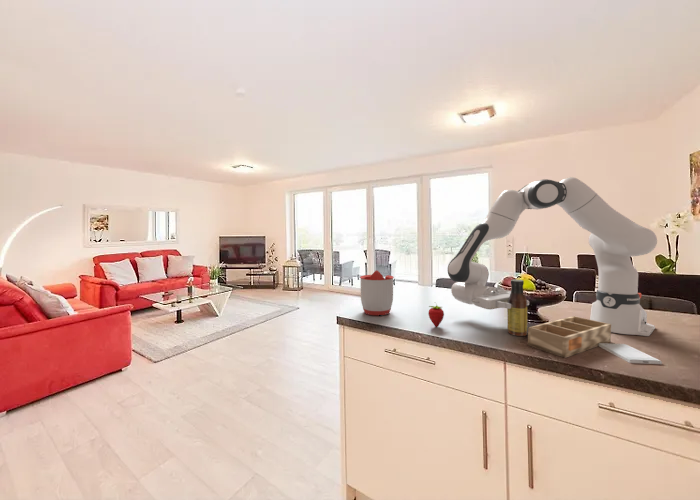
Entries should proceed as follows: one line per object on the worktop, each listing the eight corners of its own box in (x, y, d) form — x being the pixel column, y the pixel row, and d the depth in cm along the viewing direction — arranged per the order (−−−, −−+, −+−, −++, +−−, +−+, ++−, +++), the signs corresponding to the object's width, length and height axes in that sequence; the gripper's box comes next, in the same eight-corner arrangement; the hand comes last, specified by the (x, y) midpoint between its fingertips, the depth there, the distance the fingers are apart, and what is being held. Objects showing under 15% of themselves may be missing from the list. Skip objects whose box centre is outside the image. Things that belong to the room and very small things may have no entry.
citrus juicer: (398, 309, 143) (398, 268, 142) (388, 319, 127) (388, 273, 126) (368, 306, 150) (368, 267, 148) (354, 315, 134) (354, 271, 133)
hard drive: (598, 342, 95) (629, 358, 83) (626, 343, 94) (662, 360, 82) (598, 347, 96) (629, 364, 83) (626, 348, 95) (662, 366, 82)
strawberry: (428, 329, 113) (428, 303, 113) (428, 323, 121) (428, 299, 120) (444, 330, 112) (444, 304, 111) (443, 324, 119) (443, 300, 118)
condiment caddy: (573, 332, 109) (573, 316, 109) (612, 342, 99) (613, 324, 98) (527, 345, 97) (528, 327, 96) (566, 358, 86) (567, 338, 86)
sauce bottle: (516, 330, 111) (517, 278, 110) (531, 335, 105) (532, 280, 104) (502, 332, 109) (503, 279, 108) (517, 338, 103) (518, 281, 102)
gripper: (468, 292, 113) (501, 299, 101) (503, 287, 123) (537, 293, 110) (468, 308, 114) (500, 317, 101) (502, 302, 123) (536, 309, 111)
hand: (519, 304), depth 106 cm, fingers open, 8 cm apart
